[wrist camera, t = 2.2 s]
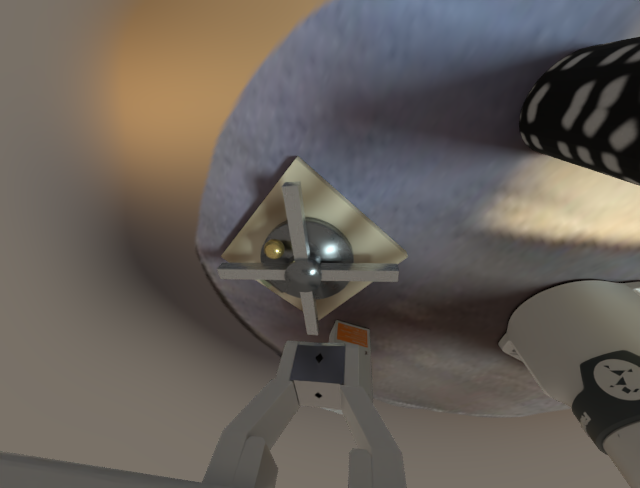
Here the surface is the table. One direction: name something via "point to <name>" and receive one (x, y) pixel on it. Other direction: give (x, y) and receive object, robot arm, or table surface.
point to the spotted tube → (589, 110)
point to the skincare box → (361, 337)
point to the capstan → (307, 259)
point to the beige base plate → (320, 205)
